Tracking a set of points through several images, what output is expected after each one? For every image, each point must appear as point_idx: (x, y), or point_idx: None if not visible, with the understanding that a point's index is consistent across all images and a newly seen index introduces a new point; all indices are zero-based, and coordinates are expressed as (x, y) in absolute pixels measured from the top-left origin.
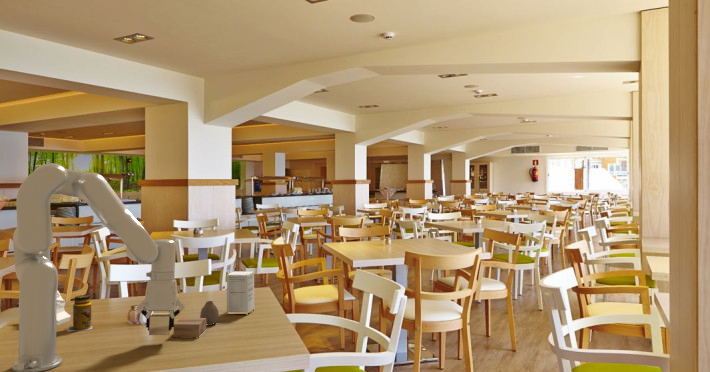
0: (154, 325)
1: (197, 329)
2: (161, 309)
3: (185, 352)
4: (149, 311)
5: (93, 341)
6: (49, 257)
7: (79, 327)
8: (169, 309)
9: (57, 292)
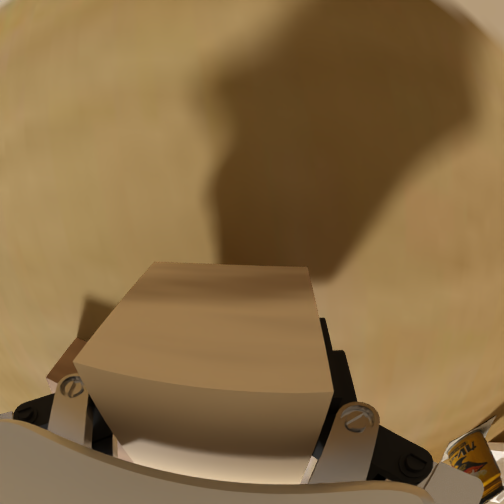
0: (262, 314)
1: (64, 364)
2: (128, 481)
3: (73, 104)
4: (344, 481)
5: (488, 354)
6: None
7: (476, 435)
8: (28, 435)
9: (495, 497)
